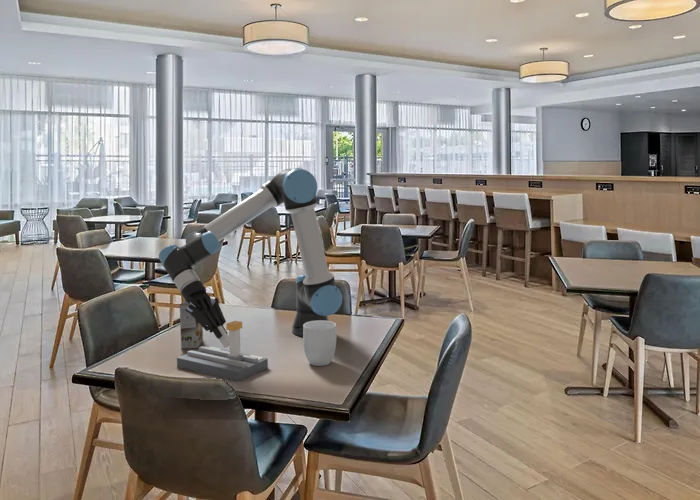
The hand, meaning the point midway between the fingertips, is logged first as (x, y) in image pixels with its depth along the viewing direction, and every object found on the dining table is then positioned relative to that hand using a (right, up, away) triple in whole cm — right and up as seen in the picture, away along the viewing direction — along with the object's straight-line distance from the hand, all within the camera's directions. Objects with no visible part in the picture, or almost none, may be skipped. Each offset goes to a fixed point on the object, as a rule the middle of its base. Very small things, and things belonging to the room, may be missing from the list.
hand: (228, 344), depth 179 cm
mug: (+29, -7, +8) cm, 31 cm away
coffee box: (-19, -5, +27) cm, 33 cm away
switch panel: (-3, -8, +3) cm, 9 cm away
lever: (+2, -5, 0) cm, 5 cm away
